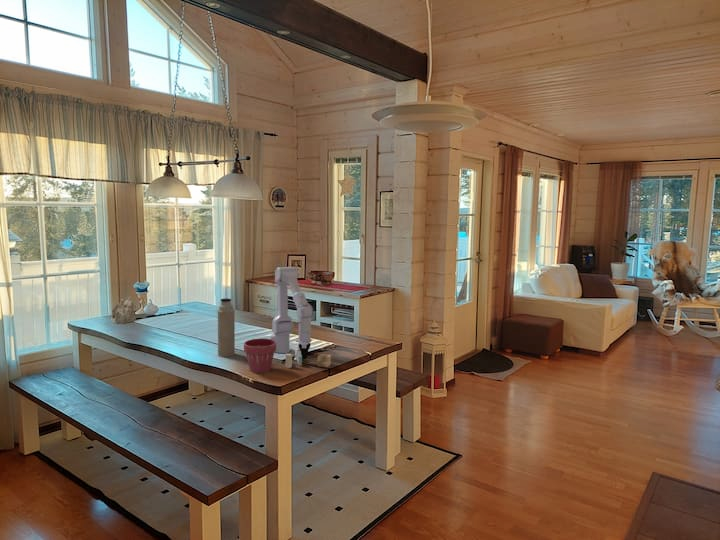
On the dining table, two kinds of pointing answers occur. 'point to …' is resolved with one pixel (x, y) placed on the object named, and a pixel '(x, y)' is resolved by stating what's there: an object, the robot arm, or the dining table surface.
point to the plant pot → (260, 354)
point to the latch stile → (288, 360)
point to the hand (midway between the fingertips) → (304, 359)
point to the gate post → (296, 353)
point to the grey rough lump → (123, 312)
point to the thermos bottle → (226, 329)
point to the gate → (299, 358)
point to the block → (324, 360)
